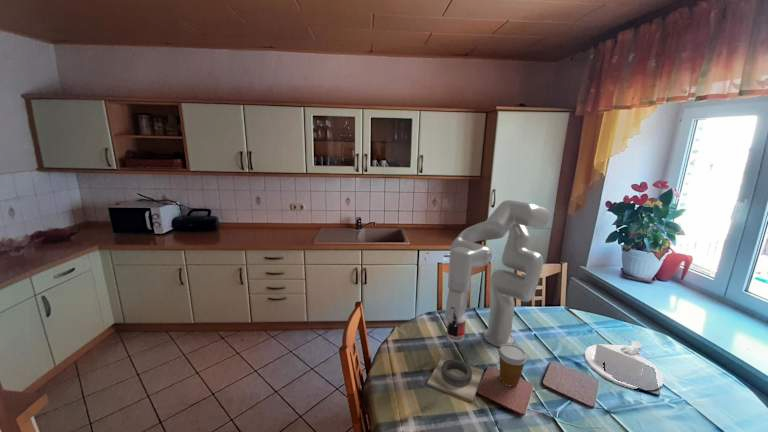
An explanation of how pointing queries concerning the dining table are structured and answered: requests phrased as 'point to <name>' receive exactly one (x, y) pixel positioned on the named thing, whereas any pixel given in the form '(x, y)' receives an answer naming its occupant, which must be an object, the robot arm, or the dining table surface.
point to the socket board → (456, 378)
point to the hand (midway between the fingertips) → (455, 329)
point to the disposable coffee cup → (511, 363)
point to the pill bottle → (460, 329)
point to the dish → (619, 361)
